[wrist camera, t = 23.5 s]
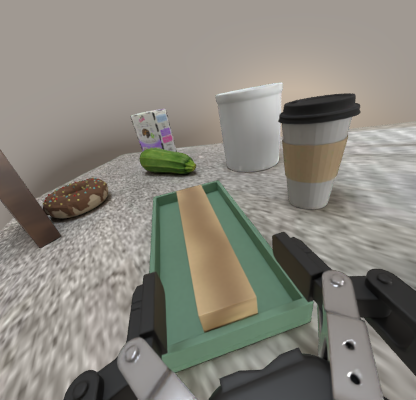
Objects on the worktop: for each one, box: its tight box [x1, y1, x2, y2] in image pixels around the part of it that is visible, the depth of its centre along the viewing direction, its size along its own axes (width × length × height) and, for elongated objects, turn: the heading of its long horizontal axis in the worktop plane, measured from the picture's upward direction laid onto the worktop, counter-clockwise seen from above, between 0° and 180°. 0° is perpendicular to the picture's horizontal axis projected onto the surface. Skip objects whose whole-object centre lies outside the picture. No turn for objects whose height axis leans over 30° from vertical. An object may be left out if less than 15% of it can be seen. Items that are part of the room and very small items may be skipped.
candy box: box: [130, 109, 177, 152], centre depth 69 cm, size 14×6×16 cm, turn 51°
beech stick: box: [176, 185, 258, 333], centre depth 24 cm, size 4×22×4 cm, turn 13°
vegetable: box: [140, 148, 196, 174], centre depth 55 cm, size 7×7×20 cm
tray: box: [149, 180, 313, 373], centre depth 27 cm, size 27×13×3 cm, turn 13°
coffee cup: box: [278, 94, 360, 209], centre depth 28 cm, size 9×9×15 cm
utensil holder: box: [216, 83, 283, 172], centre depth 47 cm, size 15×15×18 cm
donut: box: [43, 178, 108, 218], centre depth 46 cm, size 14×14×5 cm
